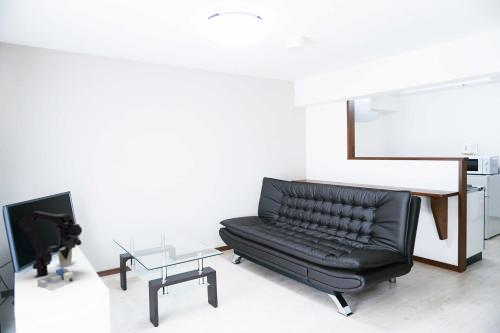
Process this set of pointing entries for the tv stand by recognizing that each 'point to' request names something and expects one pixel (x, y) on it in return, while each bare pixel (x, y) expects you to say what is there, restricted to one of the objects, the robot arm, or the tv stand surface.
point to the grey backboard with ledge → (54, 280)
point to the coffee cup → (65, 259)
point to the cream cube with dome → (68, 277)
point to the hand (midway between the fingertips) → (65, 259)
